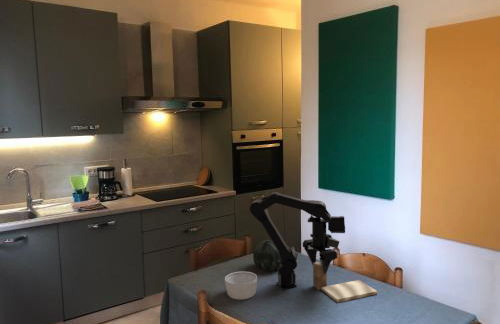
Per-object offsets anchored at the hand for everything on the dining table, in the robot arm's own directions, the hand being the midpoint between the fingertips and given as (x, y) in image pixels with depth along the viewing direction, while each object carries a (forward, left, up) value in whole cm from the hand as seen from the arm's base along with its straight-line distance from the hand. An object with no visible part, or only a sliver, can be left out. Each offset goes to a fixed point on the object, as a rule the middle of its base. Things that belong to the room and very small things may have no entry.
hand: (319, 269), depth 166 cm
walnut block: (0, 0, -8) cm, 8 cm away
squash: (-11, +28, -8) cm, 31 cm away
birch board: (+8, -9, -8) cm, 14 cm away
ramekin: (-32, +7, -8) cm, 34 cm away
